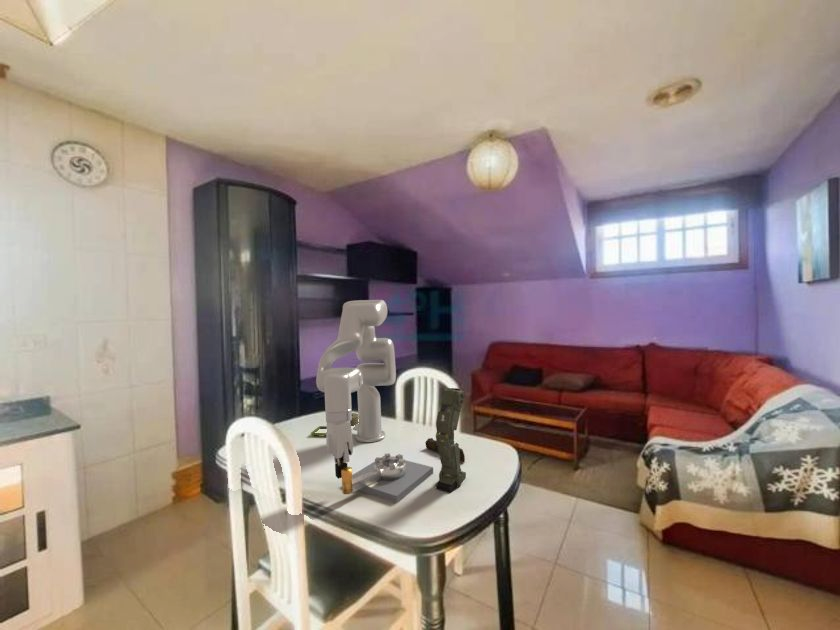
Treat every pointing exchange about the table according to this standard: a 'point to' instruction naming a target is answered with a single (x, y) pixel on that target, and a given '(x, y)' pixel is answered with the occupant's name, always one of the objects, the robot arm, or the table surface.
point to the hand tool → (433, 445)
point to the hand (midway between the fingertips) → (341, 476)
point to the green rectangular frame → (318, 429)
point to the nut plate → (396, 481)
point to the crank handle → (374, 473)
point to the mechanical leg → (449, 440)
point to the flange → (354, 419)
